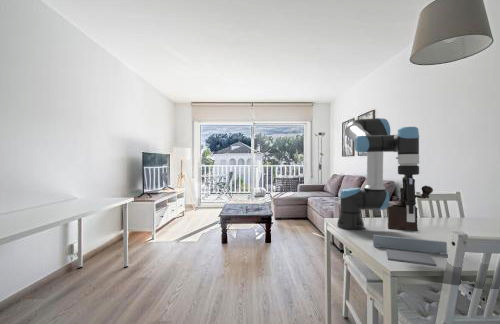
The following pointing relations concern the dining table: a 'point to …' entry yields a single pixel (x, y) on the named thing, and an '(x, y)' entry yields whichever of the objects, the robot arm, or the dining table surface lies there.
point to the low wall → (410, 244)
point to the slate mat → (410, 257)
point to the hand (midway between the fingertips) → (408, 219)
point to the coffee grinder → (404, 212)
